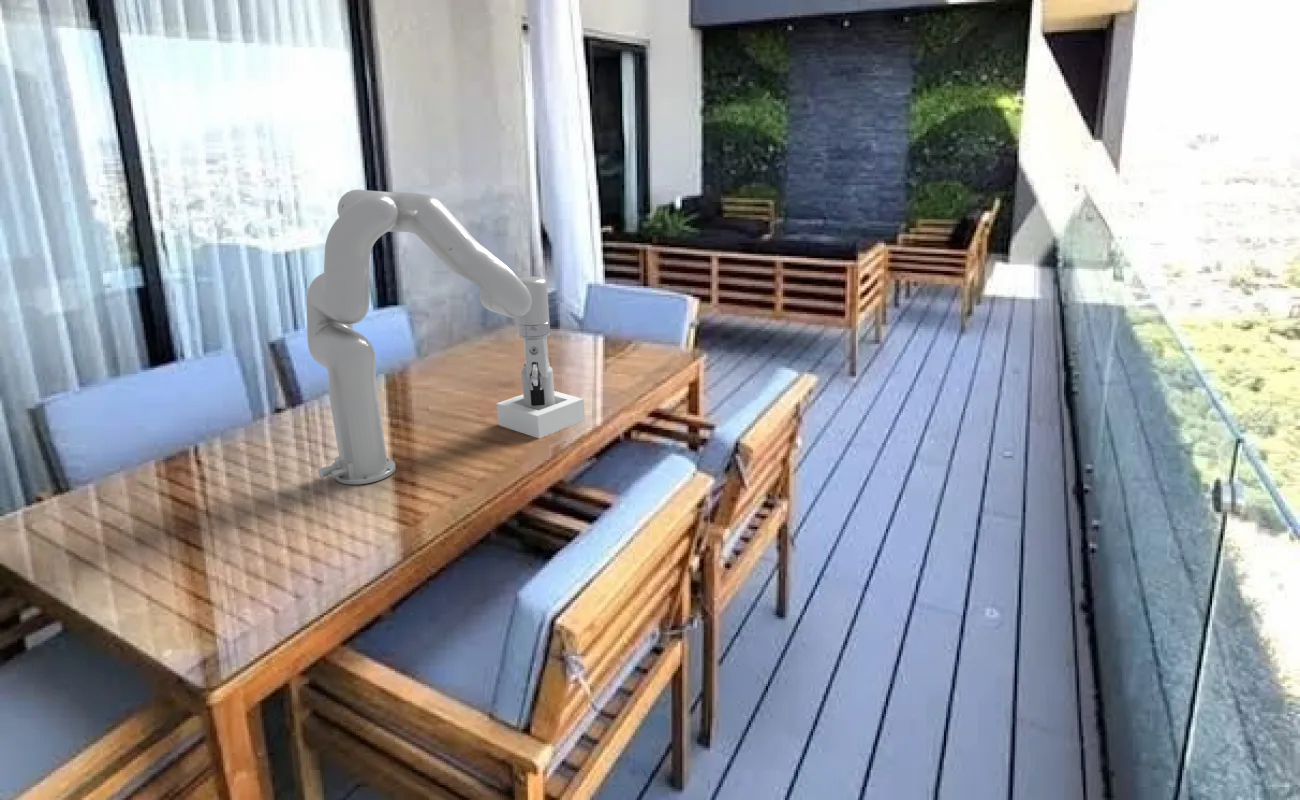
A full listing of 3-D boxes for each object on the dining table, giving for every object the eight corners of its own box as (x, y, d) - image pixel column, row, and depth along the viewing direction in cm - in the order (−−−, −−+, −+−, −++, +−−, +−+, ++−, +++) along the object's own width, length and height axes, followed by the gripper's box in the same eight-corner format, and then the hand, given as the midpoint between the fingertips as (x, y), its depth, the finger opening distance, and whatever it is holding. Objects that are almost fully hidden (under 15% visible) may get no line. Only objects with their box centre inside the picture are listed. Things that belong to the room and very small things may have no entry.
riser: (539, 439, 197) (537, 416, 195) (498, 426, 207) (496, 403, 205) (584, 421, 208) (583, 398, 206) (543, 409, 217) (542, 387, 215)
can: (549, 416, 202) (546, 368, 198) (520, 414, 203) (516, 367, 200) (559, 405, 209) (556, 359, 205) (530, 404, 210) (527, 358, 206)
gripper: (548, 337, 191) (553, 410, 197) (551, 320, 208) (556, 387, 214) (515, 339, 191) (520, 412, 197) (521, 321, 208) (526, 389, 213)
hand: (539, 399), depth 205 cm, fingers closed on can, 7 cm apart
